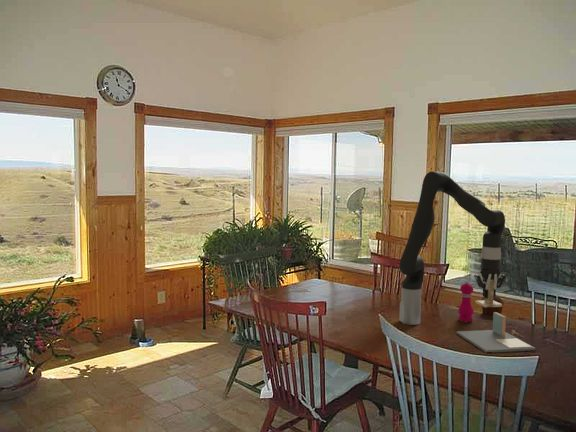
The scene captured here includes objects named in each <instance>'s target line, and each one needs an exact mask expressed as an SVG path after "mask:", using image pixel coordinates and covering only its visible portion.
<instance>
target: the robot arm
mask: <svg viewBox="0 0 576 432" xmlns="http://www.w3.org/2000/svg"><path fill="white" fill-rule="evenodd" d="M440 192H442V193H444V194H446V195H447V196H450V197H451V198H452V199H453V200H454V201H455V202H456V203H457V205H458V206H459V207H460V208H461V209H463V210H464V211H466V212H467V213H469V214H471V215H472V216H473V217H474V218H475V219H476V220H477V222H479V223H480V224H481V225H483V226H485V227H487V230H486V232H485V233H483V235H482V248H481V257H480V258H481V259H480V267H481V268H480V271H479V273H478V274H474V279H475V281H476V284H477V286H478V287H479V288H481V289H482V297H484V298H488V286H489V284H490V280H494V293H493V298H494V297H495V296H497V295H496V294H497V289H500V288H501V287H502V285H503V283H504V281H505V279H506V278H507V275H506V274H504V273H501V270H500V269H501V262H502V261H501V260H502V259H501V258H502V249H501V247H502V246H501V243H502V236H503V235H502V234H503V231H504V230H505V229H504V228H505V225H506V216H505V214H504V212H503V211H501V210H500V209H489V208H488V207H486V204H485V202H484V201H482V200H481V199H479V198H478V197H476V196H475V195H473V194H472V193H470V192H468V191H467V190H466V189H465V188H463V187H461V186H460V185H459V184H458V183H457V182H455V181H454V180H453V178H451V176H449V175H448V174H447V173H445V172H443V171H437V170H436V171H433V170H432V171H429V172H427V173H426V174H425V175H424V177H423V180H422V185H421V190H420V196H419V200H418V204H417V208H416V212H415V215H414V218H413V221H412V225H411V228H410V232H409V235H408V238H407V243H406V245H405V247H404V250H403V252H402V255H401V257H400V260H399V263H398V264H399V271H400V272H401V273H402V274H403V275H405V278H404V279H403V280H402V282H401V301H400V302H399V316H398V317H399V319H398V321H399V322H401V323H402V324H403V325H408V326H409V325H410V326H414V325H415V326H416V325H420V324H421V307H422V304H421V303H422V285H423V283H424V274H425V262H424V260H423V257H421V256H420V255H419V253H420V251H421V249H422V247H423V245H424V244H425V243H426V242H427V240H428V239H429V237H430V235H431V233H432V231H433V227H434V223H435V211H434V203H435V198H436V195H437V193H440ZM486 281H487V282H486Z"/></svg>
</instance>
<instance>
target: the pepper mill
mask: <svg viewBox="0 0 576 432" xmlns="http://www.w3.org/2000/svg"><path fill="white" fill-rule="evenodd" d="M460 292H461V293H460V294H461V303H460V305H459V307H458V310H457V312H458V314H459V315H458V320H459V321H460V320H461V322H464V321H466V322H465V323H471V322H472V321H473V315H474V313H475V311H474V307H473V305H472V300H471V299H472V295H473V294H472V293H474V287H473V285H472V284H470V282H469V280H465V282H464V283H462V284H461V286H460Z"/></svg>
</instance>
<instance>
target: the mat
mask: <svg viewBox="0 0 576 432" xmlns="http://www.w3.org/2000/svg"><path fill="white" fill-rule="evenodd" d="M456 335H458V336H459V337H461V338H463V339H464V340H466V341H467V342H469V343H470V344H472V345H473V346H475V347H476V348H477V349H479V350H481V351H483V352H484V353H486V354H488V353H487V352H492V353H504V352H505V353H506V352H507V353H508V352H525V351H528V352H530V351H536V347H534V346H533V345H531V344H529V343H527V342H525V341H524V340H522V339H520V338H518V337H517V336H514V335H512V334H510V333H508V332H506V331H505V337H501V336H499V335H497V334H496V333H494V332H493V329H485V330H460V331H459V330H458V331H456ZM514 338H517V339H519V340H521V341H523V342H524V343H526V344H528V345H530V346H532V347H525V348H508V347H506V346H505V345H503V344H501V343H500V342H498V341H496V340H495V339H514Z"/></svg>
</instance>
